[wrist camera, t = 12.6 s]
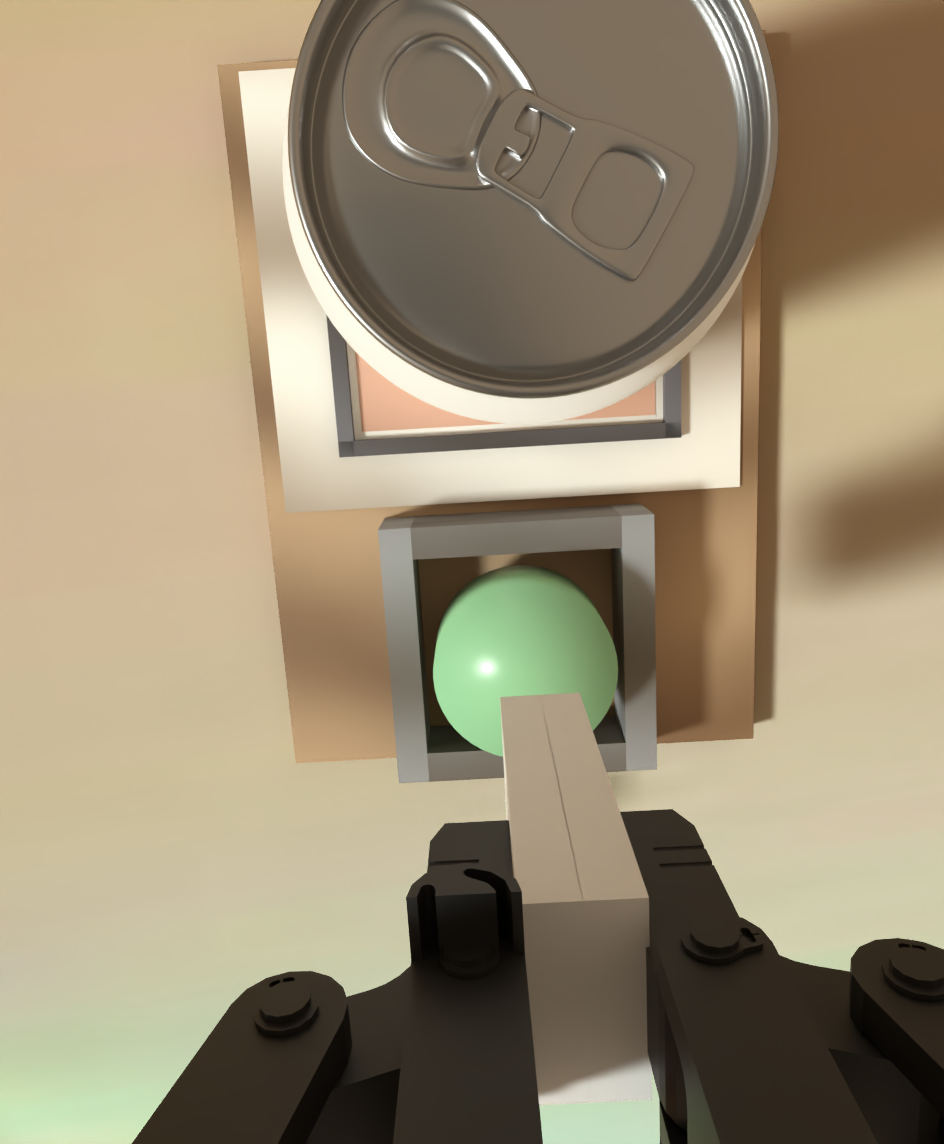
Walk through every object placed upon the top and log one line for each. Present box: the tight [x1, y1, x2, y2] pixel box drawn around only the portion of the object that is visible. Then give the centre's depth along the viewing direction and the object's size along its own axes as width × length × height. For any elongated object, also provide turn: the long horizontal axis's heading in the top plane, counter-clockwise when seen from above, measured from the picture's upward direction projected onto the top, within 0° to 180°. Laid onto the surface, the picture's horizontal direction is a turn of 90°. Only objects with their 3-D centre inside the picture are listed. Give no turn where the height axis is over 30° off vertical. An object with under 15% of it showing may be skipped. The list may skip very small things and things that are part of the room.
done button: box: [433, 565, 618, 757], centre depth 22 cm, size 4×4×2 cm
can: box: [282, 0, 779, 424], centre depth 16 cm, size 6×6×12 cm
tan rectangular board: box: [218, 30, 765, 783], centre depth 22 cm, size 18×13×3 cm
